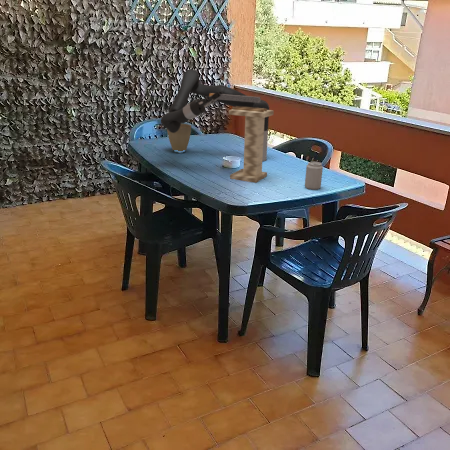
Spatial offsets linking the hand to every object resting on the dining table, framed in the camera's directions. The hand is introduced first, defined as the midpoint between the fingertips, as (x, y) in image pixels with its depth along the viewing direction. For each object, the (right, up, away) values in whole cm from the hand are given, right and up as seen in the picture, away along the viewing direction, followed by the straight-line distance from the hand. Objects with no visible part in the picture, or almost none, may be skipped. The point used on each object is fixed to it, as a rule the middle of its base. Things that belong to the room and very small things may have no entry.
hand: (220, 93), depth 221 cm
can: (+43, -46, -6) cm, 64 cm away
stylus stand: (+14, -40, +8) cm, 43 cm away
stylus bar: (+7, -4, -2) cm, 8 cm away
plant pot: (-26, -19, +58) cm, 66 cm away
